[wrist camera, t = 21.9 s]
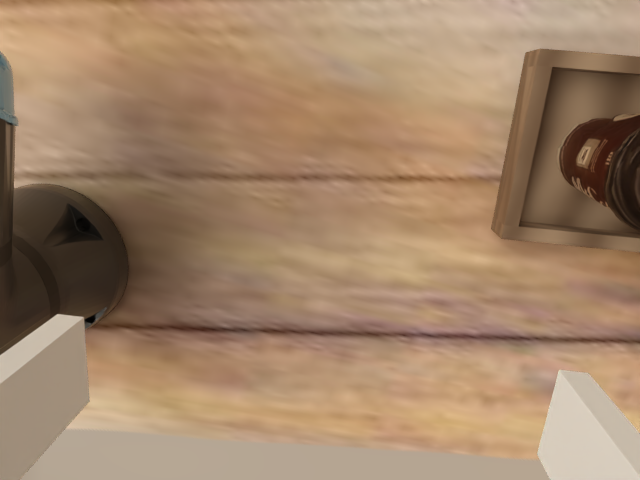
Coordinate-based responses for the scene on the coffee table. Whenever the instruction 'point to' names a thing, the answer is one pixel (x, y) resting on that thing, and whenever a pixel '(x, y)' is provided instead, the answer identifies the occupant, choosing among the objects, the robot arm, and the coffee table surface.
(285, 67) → the coffee table surface
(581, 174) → the coffee cup
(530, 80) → the box
